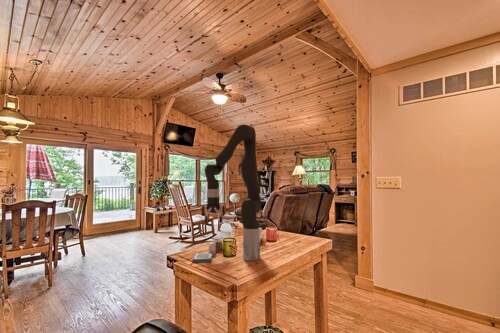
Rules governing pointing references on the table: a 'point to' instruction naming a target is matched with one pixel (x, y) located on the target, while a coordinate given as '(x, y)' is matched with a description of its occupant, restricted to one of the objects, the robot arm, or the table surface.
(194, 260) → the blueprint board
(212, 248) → the cream cylinder
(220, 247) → the walnut cube
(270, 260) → the table surface
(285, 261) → the table surface
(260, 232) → the duck figurine
